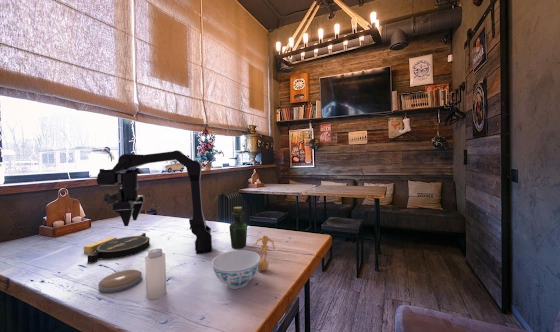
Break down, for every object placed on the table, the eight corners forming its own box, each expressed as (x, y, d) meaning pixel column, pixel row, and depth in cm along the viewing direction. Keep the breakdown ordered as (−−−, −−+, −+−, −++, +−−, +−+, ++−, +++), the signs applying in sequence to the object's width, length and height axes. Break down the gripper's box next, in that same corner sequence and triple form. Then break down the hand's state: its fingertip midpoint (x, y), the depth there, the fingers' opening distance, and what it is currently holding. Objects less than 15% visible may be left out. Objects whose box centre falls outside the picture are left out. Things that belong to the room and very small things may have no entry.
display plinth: (146, 272, 82) (146, 267, 82) (134, 289, 71) (134, 283, 71) (109, 277, 79) (108, 271, 79) (90, 296, 68) (90, 289, 68)
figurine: (249, 271, 81) (249, 237, 81) (257, 263, 87) (256, 232, 87) (271, 274, 78) (270, 239, 78) (277, 267, 84) (277, 234, 84)
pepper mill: (168, 288, 71) (166, 246, 71) (164, 297, 66) (162, 253, 66) (149, 291, 70) (148, 248, 70) (143, 301, 65) (142, 255, 65)
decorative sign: (123, 231, 122) (165, 234, 117) (124, 238, 122) (165, 240, 117) (61, 253, 93) (113, 257, 88) (62, 261, 94) (113, 266, 89)
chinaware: (220, 272, 81) (220, 250, 81) (263, 271, 81) (262, 250, 80) (205, 297, 66) (204, 270, 66) (257, 297, 66) (256, 270, 65)
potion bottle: (250, 247, 104) (250, 207, 104) (234, 251, 99) (233, 210, 99) (243, 242, 111) (242, 205, 110) (227, 246, 106) (226, 207, 106)
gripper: (116, 183, 101) (117, 219, 101) (94, 188, 82) (95, 231, 83) (145, 182, 103) (146, 217, 104) (129, 187, 85) (130, 228, 86)
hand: (130, 223), depth 94 cm, fingers open, 9 cm apart
